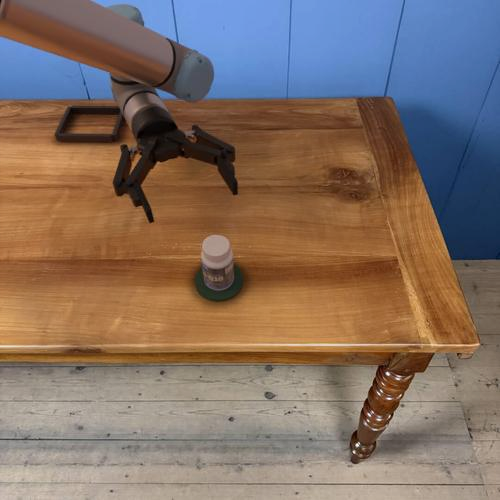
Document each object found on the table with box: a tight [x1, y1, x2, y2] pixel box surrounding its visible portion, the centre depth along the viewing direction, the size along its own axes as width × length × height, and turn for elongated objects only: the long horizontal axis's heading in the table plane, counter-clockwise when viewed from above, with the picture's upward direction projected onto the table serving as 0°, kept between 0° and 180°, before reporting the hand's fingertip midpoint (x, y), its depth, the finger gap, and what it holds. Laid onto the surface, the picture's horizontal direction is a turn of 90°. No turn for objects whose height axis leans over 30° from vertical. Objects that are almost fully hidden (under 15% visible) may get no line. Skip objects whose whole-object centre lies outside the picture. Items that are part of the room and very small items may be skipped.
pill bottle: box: [200, 234, 234, 291], centre depth 68 cm, size 5×5×8 cm
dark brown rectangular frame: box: [54, 104, 126, 143], centre depth 97 cm, size 13×11×2 cm
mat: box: [194, 262, 244, 303], centre depth 72 cm, size 8×8×1 cm
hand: (194, 202), depth 69 cm, fingers open, 13 cm apart
